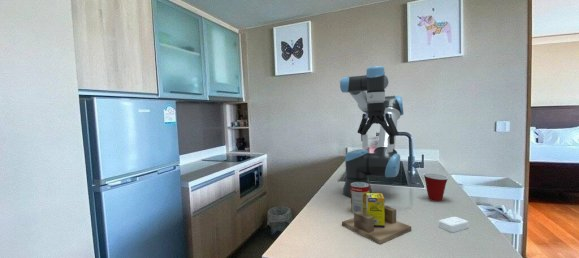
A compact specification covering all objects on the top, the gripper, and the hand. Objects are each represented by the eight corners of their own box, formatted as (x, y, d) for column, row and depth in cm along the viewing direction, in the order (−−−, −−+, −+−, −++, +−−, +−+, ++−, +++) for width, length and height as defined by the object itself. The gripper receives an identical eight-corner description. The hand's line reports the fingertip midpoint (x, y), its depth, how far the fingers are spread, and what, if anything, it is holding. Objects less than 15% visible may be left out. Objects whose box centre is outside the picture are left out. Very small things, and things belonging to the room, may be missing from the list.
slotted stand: (342, 225, 100) (341, 208, 100) (372, 215, 109) (371, 200, 109) (380, 244, 85) (379, 224, 85) (411, 230, 94) (411, 213, 93)
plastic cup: (451, 204, 118) (451, 178, 118) (424, 202, 122) (424, 177, 122) (446, 196, 128) (446, 173, 128) (422, 195, 133) (422, 171, 132)
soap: (454, 223, 99) (454, 215, 99) (469, 228, 94) (469, 220, 94) (437, 227, 96) (437, 219, 96) (451, 233, 91) (451, 225, 91)
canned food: (371, 209, 116) (370, 183, 115) (367, 215, 109) (367, 187, 108) (353, 207, 119) (353, 181, 119) (349, 213, 112) (348, 185, 112)
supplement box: (385, 227, 94) (384, 198, 93) (367, 227, 95) (367, 197, 94) (382, 221, 99) (382, 193, 99) (366, 220, 101) (365, 192, 100)
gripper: (349, 103, 122) (350, 148, 124) (395, 101, 101) (396, 154, 103) (360, 103, 126) (361, 146, 128) (407, 100, 105) (407, 152, 107)
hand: (377, 150), depth 115 cm, fingers open, 13 cm apart
